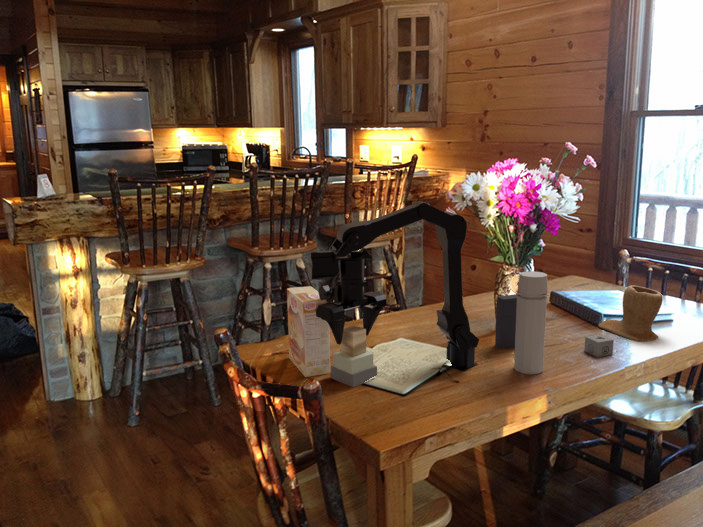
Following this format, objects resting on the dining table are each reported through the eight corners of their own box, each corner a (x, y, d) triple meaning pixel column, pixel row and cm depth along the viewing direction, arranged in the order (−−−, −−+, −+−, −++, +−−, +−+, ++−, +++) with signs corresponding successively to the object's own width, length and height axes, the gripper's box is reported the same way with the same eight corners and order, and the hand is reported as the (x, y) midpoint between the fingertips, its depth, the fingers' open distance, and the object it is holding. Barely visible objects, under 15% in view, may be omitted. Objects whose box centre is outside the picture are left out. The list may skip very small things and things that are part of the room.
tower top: (373, 367, 157) (373, 353, 156) (351, 374, 152) (351, 360, 152) (354, 359, 162) (354, 346, 161) (333, 366, 157) (332, 353, 157)
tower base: (377, 379, 158) (377, 366, 157) (353, 388, 153) (353, 375, 152) (354, 371, 164) (354, 358, 163) (331, 379, 158) (331, 366, 158)
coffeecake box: (288, 358, 173) (285, 288, 169) (313, 354, 175) (311, 285, 171) (304, 377, 159) (301, 301, 155) (331, 373, 161) (329, 298, 157)
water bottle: (538, 379, 156) (543, 279, 151) (507, 372, 160) (511, 275, 155) (551, 367, 163) (556, 272, 158) (522, 361, 168) (526, 268, 163)
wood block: (366, 352, 157) (365, 329, 156) (353, 357, 154) (352, 333, 152) (353, 348, 160) (352, 325, 159) (340, 352, 157) (339, 329, 156)
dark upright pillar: (526, 342, 182) (529, 291, 179) (536, 347, 178) (538, 295, 175) (493, 347, 179) (495, 295, 175) (501, 352, 175) (503, 299, 172)
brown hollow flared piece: (668, 341, 182) (673, 290, 179) (637, 347, 177) (641, 294, 174) (627, 326, 196) (630, 279, 192) (597, 332, 191) (600, 283, 188)
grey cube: (612, 357, 170) (613, 339, 169) (597, 360, 168) (598, 342, 167) (599, 352, 174) (600, 334, 173) (584, 354, 173) (585, 336, 172)
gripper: (356, 266, 165) (357, 324, 168) (299, 278, 152) (301, 341, 155) (388, 272, 157) (388, 333, 160) (331, 286, 144) (332, 352, 147)
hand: (352, 339), depth 156 cm, fingers open, 9 cm apart
